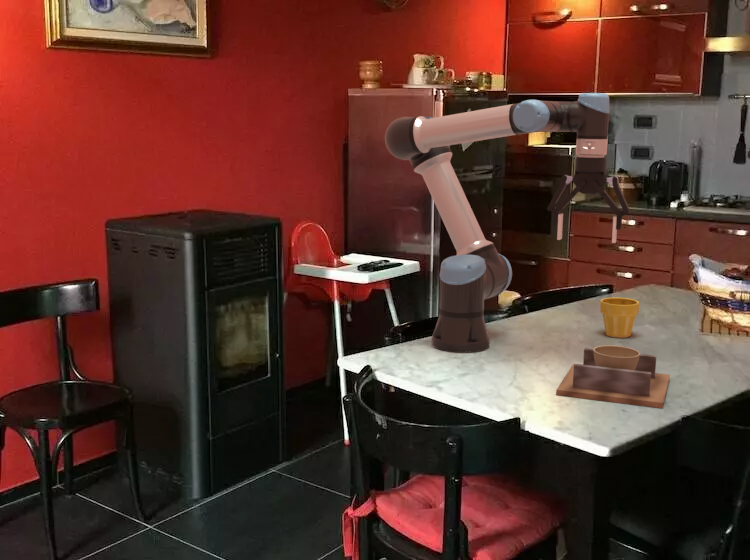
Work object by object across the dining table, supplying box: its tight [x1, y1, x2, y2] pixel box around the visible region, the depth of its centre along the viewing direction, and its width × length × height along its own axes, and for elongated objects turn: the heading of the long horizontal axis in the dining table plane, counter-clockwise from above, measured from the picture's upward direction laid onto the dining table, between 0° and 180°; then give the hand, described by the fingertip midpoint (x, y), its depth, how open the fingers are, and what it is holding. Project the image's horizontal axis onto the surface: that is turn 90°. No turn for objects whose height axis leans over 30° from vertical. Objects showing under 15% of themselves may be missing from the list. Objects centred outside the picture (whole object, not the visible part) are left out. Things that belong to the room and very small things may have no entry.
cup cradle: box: [555, 347, 670, 409], centre depth 191 cm, size 22×22×6 cm
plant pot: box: [599, 297, 640, 339], centre depth 238 cm, size 10×10×10 cm
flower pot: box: [592, 345, 641, 370], centre depth 191 cm, size 10×10×7 cm
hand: (586, 240), depth 217 cm, fingers open, 13 cm apart
